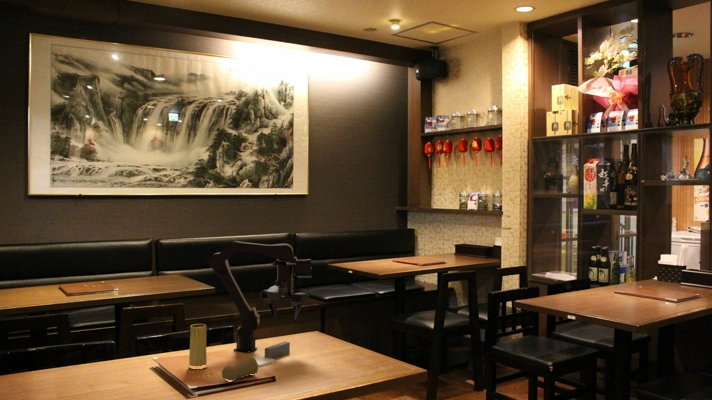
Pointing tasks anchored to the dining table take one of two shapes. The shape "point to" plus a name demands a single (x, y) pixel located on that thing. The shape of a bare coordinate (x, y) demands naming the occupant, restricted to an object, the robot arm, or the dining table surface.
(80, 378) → the dining table surface
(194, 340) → the vase
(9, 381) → the dining table surface
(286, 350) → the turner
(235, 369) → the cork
